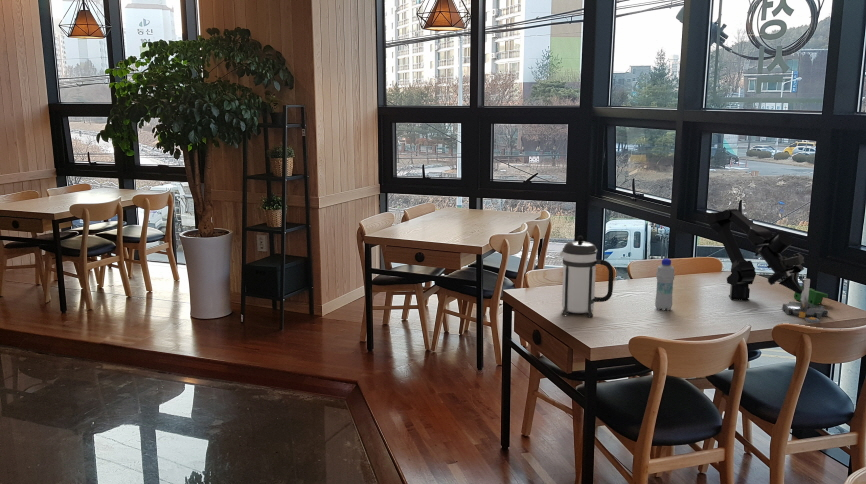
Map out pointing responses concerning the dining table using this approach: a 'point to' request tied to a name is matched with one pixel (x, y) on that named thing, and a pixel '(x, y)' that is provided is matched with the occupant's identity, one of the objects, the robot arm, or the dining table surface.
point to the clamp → (812, 296)
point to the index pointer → (812, 320)
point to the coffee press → (581, 277)
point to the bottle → (664, 285)
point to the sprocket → (805, 305)
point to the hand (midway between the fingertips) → (800, 293)
